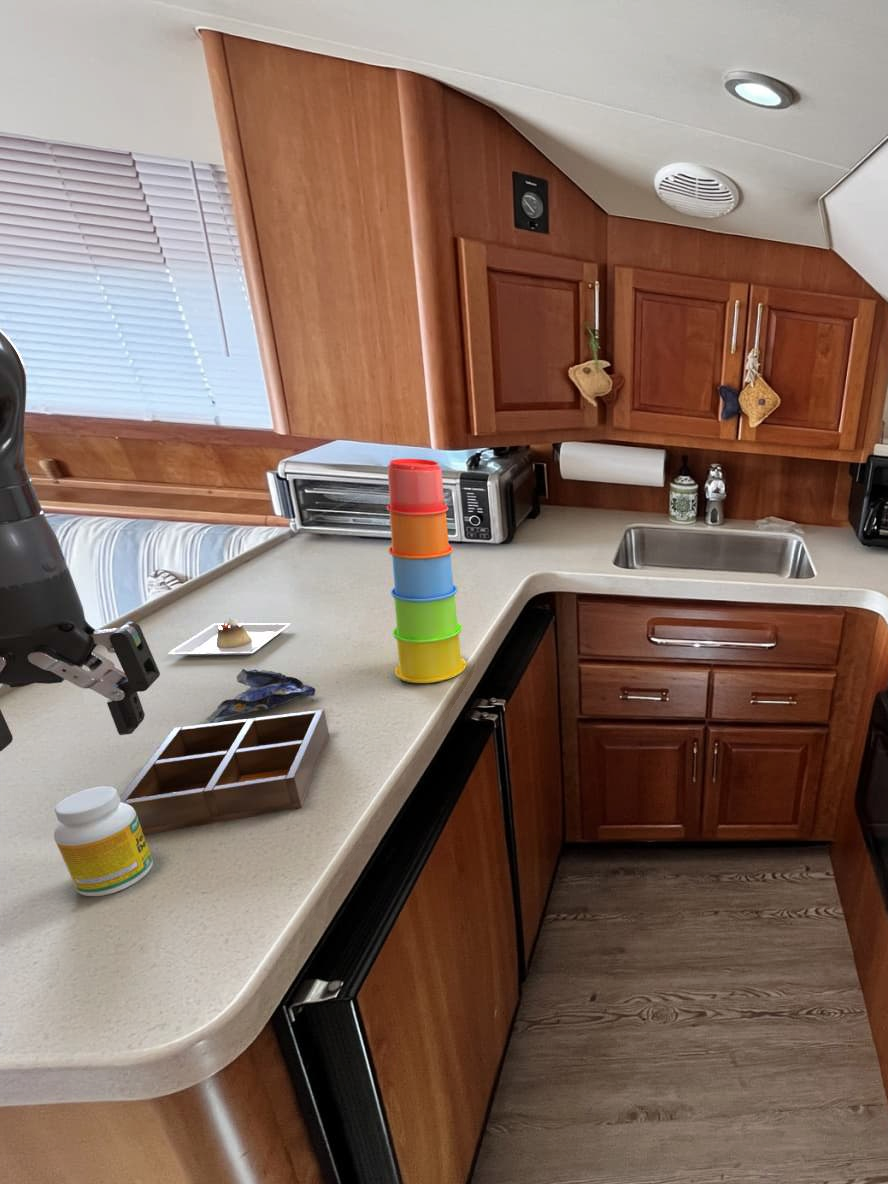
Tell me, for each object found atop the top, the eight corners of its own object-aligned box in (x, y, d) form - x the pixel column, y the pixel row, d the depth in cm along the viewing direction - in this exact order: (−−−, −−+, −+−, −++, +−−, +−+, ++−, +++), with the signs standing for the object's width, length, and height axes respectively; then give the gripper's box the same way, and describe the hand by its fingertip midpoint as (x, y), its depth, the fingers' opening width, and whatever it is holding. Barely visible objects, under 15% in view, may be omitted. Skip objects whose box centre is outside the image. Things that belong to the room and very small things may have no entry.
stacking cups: (408, 657, 109) (377, 454, 96) (473, 656, 111) (450, 457, 99) (385, 686, 100) (347, 466, 87) (456, 684, 102) (429, 469, 89)
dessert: (168, 660, 102) (159, 633, 100) (215, 629, 112) (208, 604, 111) (255, 658, 104) (248, 632, 102) (293, 628, 115) (287, 604, 113)
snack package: (216, 696, 94) (199, 735, 84) (215, 656, 92) (198, 691, 83) (317, 692, 100) (312, 727, 91) (318, 655, 99) (313, 687, 90)
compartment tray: (124, 838, 68) (112, 806, 66) (183, 756, 81) (174, 727, 79) (301, 807, 74) (294, 777, 72) (329, 736, 87) (323, 709, 85)
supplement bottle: (71, 879, 62) (37, 800, 59) (146, 849, 67) (118, 774, 63) (84, 908, 60) (49, 827, 56) (161, 874, 64) (133, 797, 60)
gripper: (135, 552, 58) (185, 705, 64) (-97, 562, 52) (-18, 730, 58) (93, 579, 51) (152, 747, 57) (-177, 594, 46) (-79, 779, 52)
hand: (67, 738), depth 58 cm, fingers open, 8 cm apart
